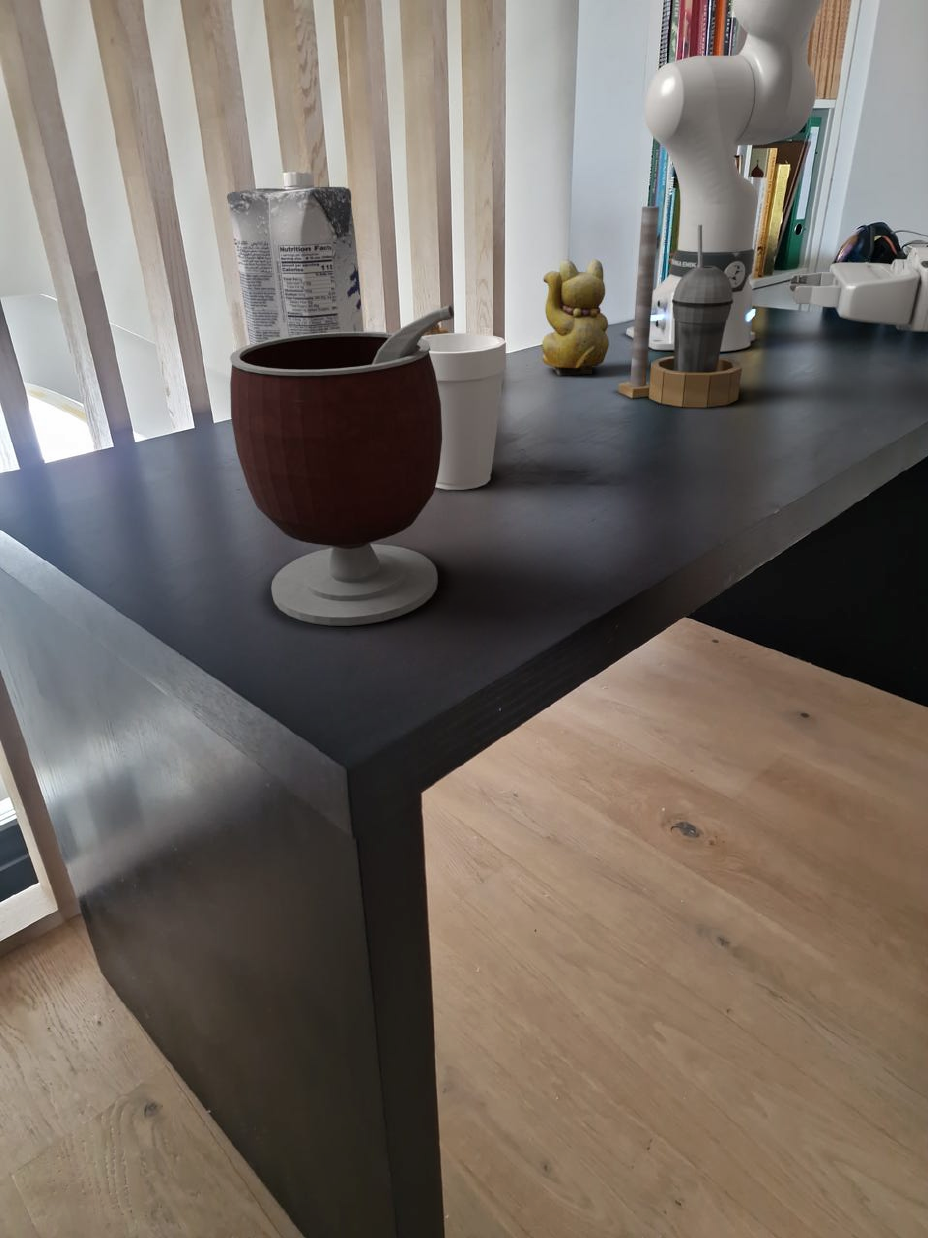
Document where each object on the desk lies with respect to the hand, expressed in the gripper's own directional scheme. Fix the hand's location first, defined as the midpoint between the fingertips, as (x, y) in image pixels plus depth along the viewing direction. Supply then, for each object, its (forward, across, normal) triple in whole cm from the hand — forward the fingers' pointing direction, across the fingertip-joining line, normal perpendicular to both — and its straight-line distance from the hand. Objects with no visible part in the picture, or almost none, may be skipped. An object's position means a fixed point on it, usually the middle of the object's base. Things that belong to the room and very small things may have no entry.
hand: (792, 288), depth 98 cm
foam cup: (+31, +36, +13) cm, 49 cm away
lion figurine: (+46, -2, +13) cm, 47 cm away
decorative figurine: (+27, -11, +13) cm, 32 cm away
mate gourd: (+30, +61, +13) cm, 69 cm away
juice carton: (+48, +32, +13) cm, 59 cm away
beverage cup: (+10, 0, +13) cm, 17 cm away
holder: (+10, 0, +13) cm, 17 cm away
